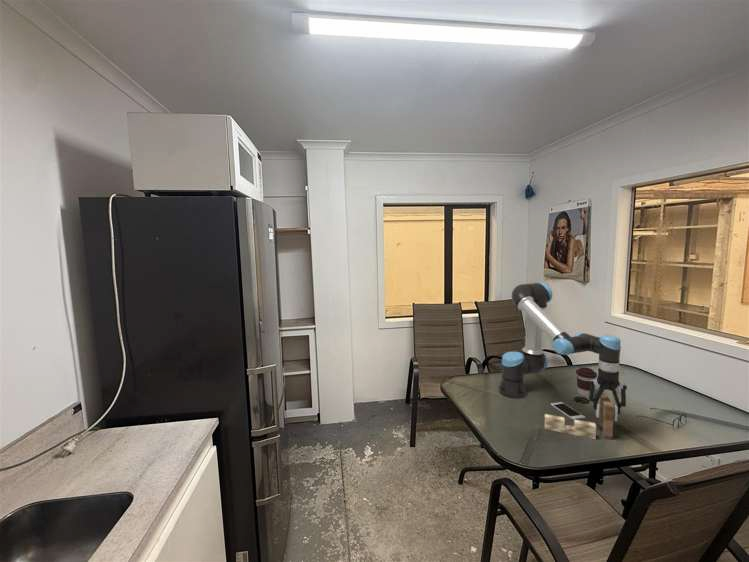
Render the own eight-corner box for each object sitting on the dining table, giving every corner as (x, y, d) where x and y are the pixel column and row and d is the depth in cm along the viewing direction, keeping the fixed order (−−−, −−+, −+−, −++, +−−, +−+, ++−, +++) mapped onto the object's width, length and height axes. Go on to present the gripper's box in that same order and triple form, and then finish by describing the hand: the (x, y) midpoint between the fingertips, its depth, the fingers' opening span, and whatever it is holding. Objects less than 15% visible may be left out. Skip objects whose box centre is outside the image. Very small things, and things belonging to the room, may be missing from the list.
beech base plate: (544, 428, 148) (545, 417, 148) (544, 425, 151) (544, 413, 150) (595, 439, 139) (596, 426, 139) (594, 435, 142) (595, 423, 141)
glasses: (674, 432, 144) (673, 421, 143) (635, 420, 157) (634, 410, 157) (687, 422, 150) (686, 412, 150) (648, 412, 163) (648, 402, 163)
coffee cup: (589, 390, 184) (590, 366, 182) (599, 398, 174) (601, 373, 173) (571, 390, 185) (572, 366, 183) (581, 398, 175) (582, 372, 174)
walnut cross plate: (612, 439, 139) (613, 407, 137) (604, 438, 140) (605, 406, 138) (606, 425, 149) (608, 395, 148) (598, 424, 151) (600, 394, 149)
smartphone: (573, 420, 155) (573, 418, 155) (550, 405, 170) (550, 403, 170) (585, 418, 157) (585, 416, 156) (561, 403, 172) (561, 401, 172)
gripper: (584, 369, 142) (582, 417, 145) (637, 376, 134) (634, 426, 136) (582, 363, 149) (580, 409, 152) (632, 369, 140) (629, 418, 143)
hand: (606, 417), depth 144 cm, fingers open, 6 cm apart
